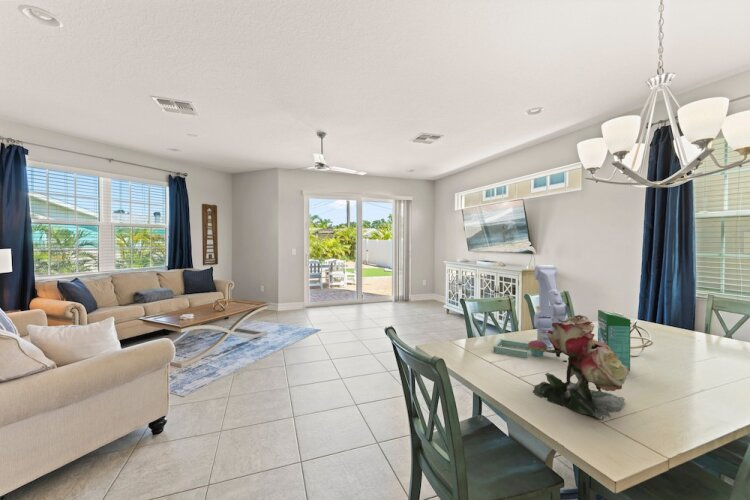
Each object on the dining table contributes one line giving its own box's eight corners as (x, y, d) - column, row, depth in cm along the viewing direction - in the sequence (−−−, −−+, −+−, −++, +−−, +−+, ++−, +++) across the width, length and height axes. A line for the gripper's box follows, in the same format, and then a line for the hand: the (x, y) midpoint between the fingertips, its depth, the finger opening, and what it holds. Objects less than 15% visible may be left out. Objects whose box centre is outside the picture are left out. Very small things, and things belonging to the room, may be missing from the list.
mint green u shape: (500, 344, 182) (500, 339, 182) (532, 349, 174) (532, 343, 174) (493, 352, 170) (493, 346, 170) (527, 358, 161) (527, 352, 161)
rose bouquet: (618, 428, 101) (618, 331, 100) (526, 393, 125) (526, 315, 124) (644, 403, 116) (645, 318, 115) (558, 376, 140) (558, 306, 139)
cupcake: (542, 352, 169) (542, 329, 169) (549, 358, 161) (550, 333, 160) (525, 351, 170) (525, 328, 170) (531, 357, 162) (531, 333, 161)
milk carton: (630, 371, 144) (630, 314, 143) (607, 369, 145) (607, 313, 145) (619, 363, 153) (619, 309, 152) (597, 362, 154) (597, 309, 154)
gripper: (540, 328, 161) (540, 355, 161) (575, 332, 153) (575, 361, 153) (542, 325, 166) (542, 351, 167) (575, 329, 158) (575, 357, 159)
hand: (558, 356), depth 160 cm, fingers closed
